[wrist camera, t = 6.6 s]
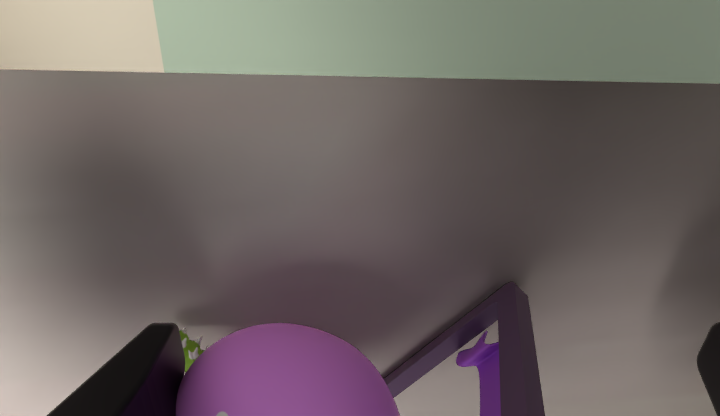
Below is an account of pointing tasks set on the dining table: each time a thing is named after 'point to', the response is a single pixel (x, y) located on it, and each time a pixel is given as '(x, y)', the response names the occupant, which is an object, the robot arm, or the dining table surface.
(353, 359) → the purple monster board
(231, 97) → the dining table surface
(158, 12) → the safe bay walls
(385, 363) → the dining table surface
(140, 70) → the trap lane
